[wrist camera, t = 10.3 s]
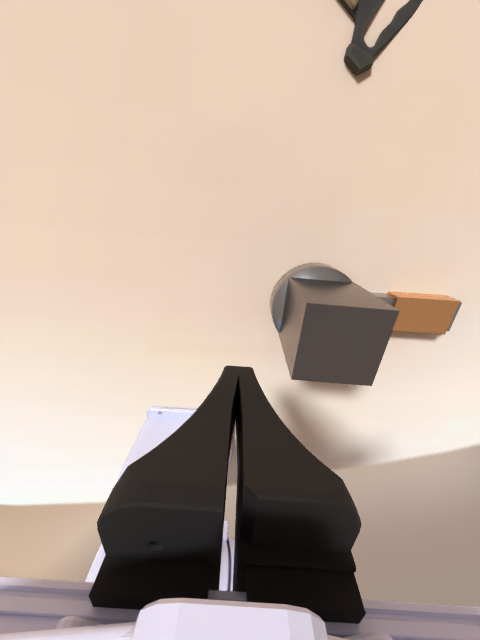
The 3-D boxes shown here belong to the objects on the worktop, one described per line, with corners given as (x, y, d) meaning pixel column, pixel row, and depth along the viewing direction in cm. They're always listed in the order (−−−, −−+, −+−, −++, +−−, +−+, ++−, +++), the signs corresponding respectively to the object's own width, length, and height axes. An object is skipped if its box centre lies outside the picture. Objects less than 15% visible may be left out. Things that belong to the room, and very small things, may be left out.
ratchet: (266, 335, 22) (271, 364, 18) (275, 260, 20) (283, 272, 15) (429, 346, 23) (474, 377, 18) (461, 272, 20) (523, 288, 15)
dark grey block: (279, 335, 20) (291, 379, 15) (288, 277, 18) (306, 302, 13) (338, 340, 20) (371, 385, 15) (353, 282, 18) (399, 310, 13)
